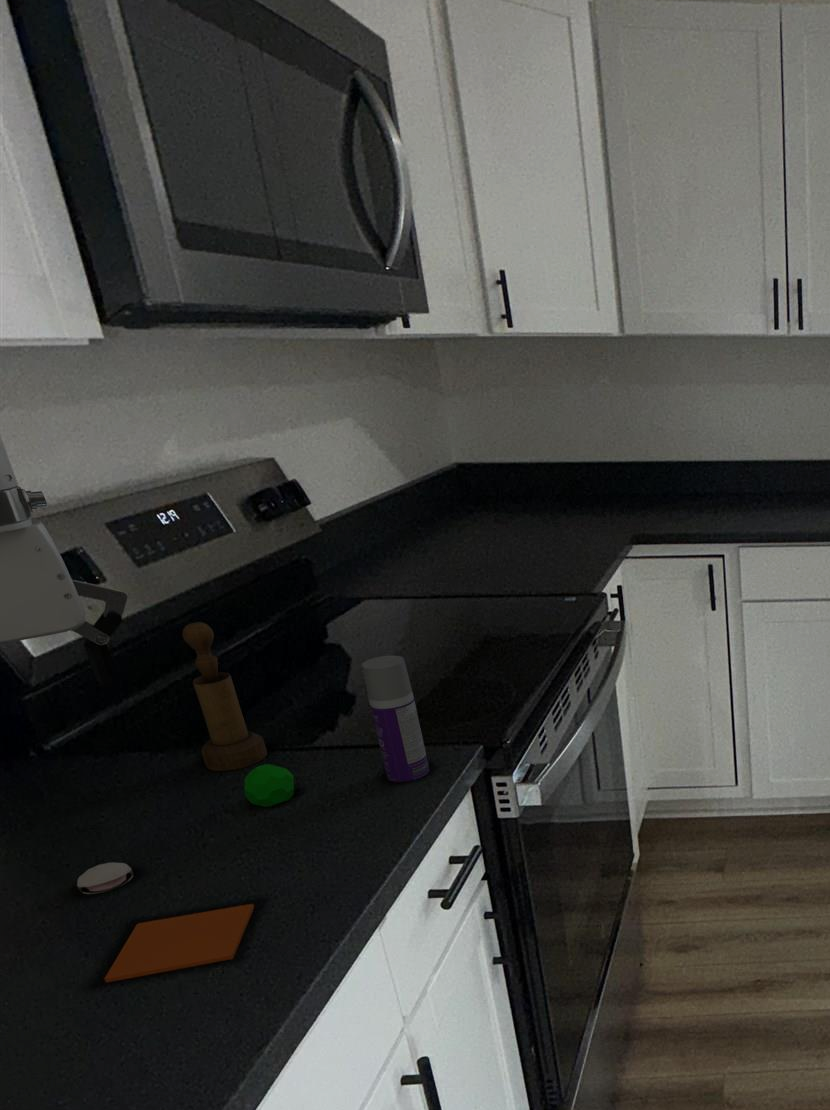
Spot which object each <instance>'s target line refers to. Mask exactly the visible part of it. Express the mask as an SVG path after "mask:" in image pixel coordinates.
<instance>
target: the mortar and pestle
mask: <svg viewBox="0 0 830 1110" xmlns="http://www.w3.org/2000/svg"><path fill="white" fill-rule="evenodd" d="M181 634H182V639H183V640H184V643H186V644H187V645H188V646H189V647H190V648H192V650H193V651H195V654H196V659H195V660H194V664H195V666H196V668H197V669H198V671H199V672H200V674H201V675H200V676H198V677H196V678H195V679H193V680H192V683H193V687H194V690H195V693H196V696H197V699H198V702H199V705H200V708H201V711H202V715H203V718H204V720H205V724H206V728H207V731H208V734H209V737H210V739H208V740H207V741H206V742H205V744H204V745H202V748H201V750H200V751H201V755H202V759H203V761H204V765H205V767H206V769H208V770H210V771H214V772H228V771H234V770H241V769H245V768H248V767H251V766H254V765H256V764H258V763H260V762H262V761H264V759H265V758H266V757H267V756H268V750H267V747H266V743H265V741H264V738H263V736H261V735H260V734H257V733H255V732H253V731H249V730H248V728H247V725H246V722H245V719H244V716H243V713H242V712H243V711H242V709H241V706H240V703H239V698H238V695H237V693H236V689H235V685H234V682H233V679H232V676H231V674H230V673H229V672H224V671H221V672H220V671H219V661H218V657H216V656H214V655H213V654H212V652H211V648H212V645H213V642H214V638H215V634H214V631H213V629H212V627H210V626H209V624H207V623H206V622H205V623H204V622H201V621H195V622H191V623H189V624H187V625H185V627H184V628H183V629H182V633H181Z"/></svg>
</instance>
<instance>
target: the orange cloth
mask: <svg viewBox="0 0 830 1110" xmlns="http://www.w3.org/2000/svg"><path fill="white" fill-rule="evenodd" d="M254 910H255V905H254V903H250V904H249V903H248V904H243V905H237V906H231V907H226V908H220V909H214V910H213V909H212V910H209V911H208V910H207V911H203V912H196V913H191V914H185V915H179V916H173V917H168V918H162V919H156V920H150V921H145V922H139V923H136V925H135V927H134V929H133V930H132V932H131V933H130V935H129V937H128V938H127V940H126V942H125V944H124V945H123V947H122V948H121V950H120V952H119V953H118V955H117V957H116V959H115V960H114V962H113V963H112V966H111V967H110V968H109V971H108V972H107V973H106V975H105V977H104V982H105V983H112V982H117V981H122V980H128V979H133V978H138V977H144V976H149V975H154V974H161V973H165V972H170V971H175V970H181V969H186V968H192V967H198V966H202V965H207V964H212V963H218V962H222V961H229V960H233V959H234V957H235V955H236V952H237V950H238V949H239V945H240V943H241V940H242V938H243V936H244V934H245V931H246V929H247V926H248V923H249V921H250V919H251V916H252V914H253V912H254Z"/></svg>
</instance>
